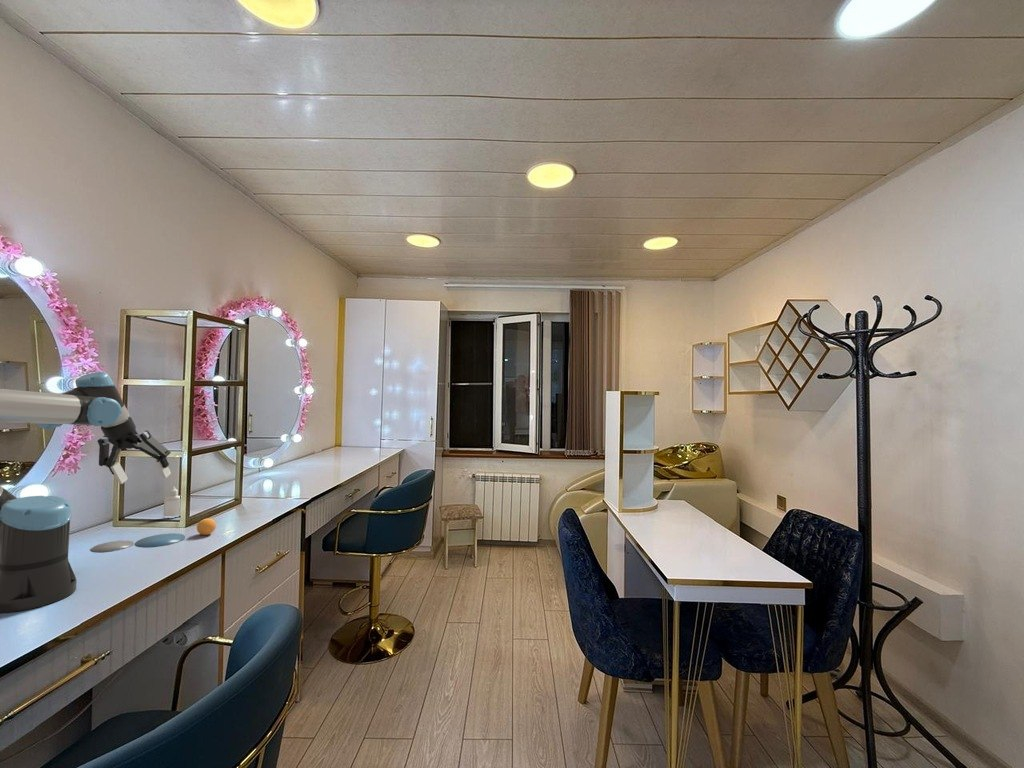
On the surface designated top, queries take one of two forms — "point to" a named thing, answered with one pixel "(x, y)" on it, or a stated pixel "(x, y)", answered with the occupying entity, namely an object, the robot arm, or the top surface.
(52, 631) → the top surface
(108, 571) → the top surface
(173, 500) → the eye dropper bottle
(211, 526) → the ball
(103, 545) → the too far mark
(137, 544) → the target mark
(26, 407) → the robot arm
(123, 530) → the top surface
